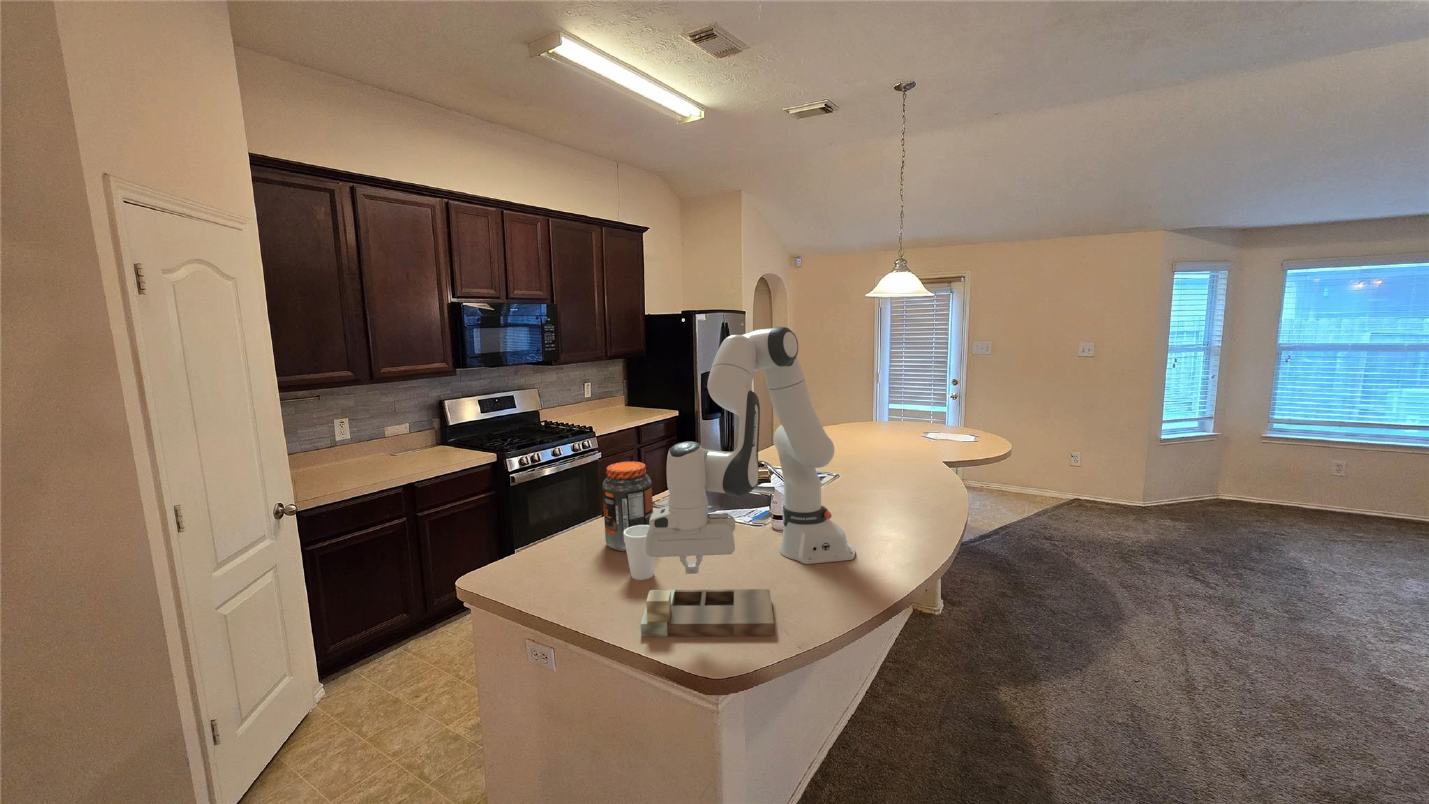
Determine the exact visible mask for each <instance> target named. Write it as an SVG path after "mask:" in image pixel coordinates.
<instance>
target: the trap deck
mask: <svg viewBox="0 0 1429 804" xmlns="http://www.w3.org/2000/svg"><path fill="white" fill-rule="evenodd" d="M663 590H664V589H651V590H650V591H663ZM670 590H671V615H670V621H669V622H647V605H645V609H644V612H643V615H642V618H641V622H640V637H768V636H767V635H770V636H769V637H773V636H772V635H774V636H775V622H774V614H773V606H772V598H771V589H770V588H764V589H763V588H756V589H755V588H753V589H752V588H750V589H748V588H745V589H742V588H741V589H740V588H739V589H734V588H733V589H730V588H729V589H728V588H727V589H725V588H723V589H670ZM763 635H765V636H763Z"/></svg>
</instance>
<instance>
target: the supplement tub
mask: <svg viewBox="0 0 1429 804" xmlns="http://www.w3.org/2000/svg"><path fill="white" fill-rule="evenodd" d="M605 473H606V475H607V476H606V477H605V478H604V480H603V482H602V486H601V488H602V503H603V505H602V506H603V517H604V518H603V520H604V534H605V535H604V536H605V543H606V545H607V546H608V547H609V548H611V549H612V550H616V551H621V552H627V551H626V546H625V542H624V530H626V529H627V528H629V527H632V526H637V525H649V520H650V516H651V514H652V513H653V512H654V505H653V502H654V501H653V485H652V484H653V482H652V479H651V478H650V476H649V475H648V474H647V469H646V463H643V462H640V461H620V462H616V463H612V464H610V465H608V466H607V467H606V472H605Z"/></svg>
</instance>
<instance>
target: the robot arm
mask: <svg viewBox="0 0 1429 804" xmlns="http://www.w3.org/2000/svg"><path fill="white" fill-rule="evenodd" d="M715 354H716V355H715V357H714V359H713V362H712V365H711V369H710V372H709V375H708V379H707V390H708V391H707V392H708V394H709V396H710V398H711V399H712V400H713V401H714V402H715V404H717V405H718V406H719V407H721V408H722V409H724V410H726V411H729V412H731V413H733V414H734V415H736V416H737V417H738V418H739V420H738V421H739V422H738V423H739V424H738V434H737V435H738V436H737V437H738V439H737V447H736V448H735V450H733V451H723V450H714V449H707V448H703V447H702V446H701V444H700V443H698V442H696V441H683V442H678V443H676V444H674V445H672V446H671V447H670V448H669V449H668V453H667V457H666V458H667V459H666V486H667V489H668V493H669V495H668V497H669V498H668V505H666V506H663V507H661V508H658V509H655V510H653V513H652V514H651V516H650V520H649V525H650V527H649V530H648V533H647V537H646V554H647V555H648V556H649V557H655V558H670V557H672V558H673V557H679V561H680V563H681V564H682V565H683V567H684V569H685V574H686V575H689V574H699V570H700V569H699V568H700V567H699V566H700V565H701V563H702V561H703V557H704V556H724V555H725V556H726V555H729V556H730V555H733V553H734V552H735V550H736V544H735V543H736V542H735V535H734V531H735V530H736V519H735V517H734V516H732V515H730V514H729V513H727V512H723V513H709V505H708V497H707V494H706V492H714V493H720V494H726V495H730V496H734V497H738V498H743V497H745V496H746V495H748V494H750V493H751V492H752V491H753V490H755V489H756V487H757V485H758V482H759V479H760V477H759V474H760V473H759V472H760V471H759V470H760V469H759V441H760V440H759V439H760V425H761V408H760V407H761V405H760V400H759V397H758V394H757V393H755V392H754V391H753V388H752V387H753V386H752V385H753V379H754V374H755V372H760V371H761V372H762V371H763V372H764V378H765V383H766V387H767V392H768V394H769V395H768V396H769V398H770V402H771V405H772V409H773V412H774V414H775V416H776V417H777V419H778V420H779V422H780V424H781V425H779V426H778V427H777V428H776V429H775V431H774V434H773V438H772V439H773V440H772V441H773V445H774V446H775V448H776V451H777V455H778V460H779V462H780V463H779V464H780V468H781V474H782V478H783V493H784V495H783V497H784V498H783V499H784V500H783V501H784V504H783V506H782V524H783V529H782V530H783V531H782V532H783V533H782V538H781V542H780V546H779V552H780V554H781V555H782V556H784V557H786V558H788V559H790V560H794V561H797V562H799V563H801V564H804V565H812V564H821V563H832V562H842V561H843V562H844V561H850V560H851V561H852V560H854V559H855V556H856V551H855V548H854V546H853V544H851V543H850V542H849V541H848V540H847V536H846V533H845V532H844V530H843V528H842V527H841V526H839V524H837V523H835V521H833V520H831V518H832V516H833V515H832V513H831V512H830V511H829V509H828V508H827V507H826V506H825V505H822V481H821V478H820V476H819V474H818V472H817V470H816V469H818V468H819V469H820V468H823V467H827V466H828V465H829V464H830V462H831V461H832V460H833V458H834V455H835V445H834V442H833V441H832V439H831V438H830V437H829V435H827V432H826V431H825V429H824V427H823V426H822V425H823V424H822V423H821V421H820V419H819V417H818V415H817V413H816V411H815V409H814V406H813V404H812V400H811V398H810V394H809V391H808V386H807V383H806V379H805V375H804V372H803V370H802V367H801V364H800V361H799V359H798V357H797V356H798V354H799V342H798V339H797V336H796V334H795V333H794V332H793V331H792V330H791V329H790V328H789V327H786V326H774V327H771V328H768V327H767V328H762V329H760V328H759V329H755V330H753V331H750V332H746V333H744V334H732V335H729V336H727V337H726V338H724V339H723V341H722V342H721V344H720V346H719V348H718V350H717V352H716V353H715ZM687 557H695V560H696V562H694V563H689V561H688V560H687Z"/></svg>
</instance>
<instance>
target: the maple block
mask: <svg viewBox="0 0 1429 804" xmlns="http://www.w3.org/2000/svg"><path fill="white" fill-rule="evenodd" d="M662 590H663V591H651V590H649V591H648V594H647V598H646V601H645V603H646V605H645V606H647V622H669V621H670V615H671V590H672V589H662Z"/></svg>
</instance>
